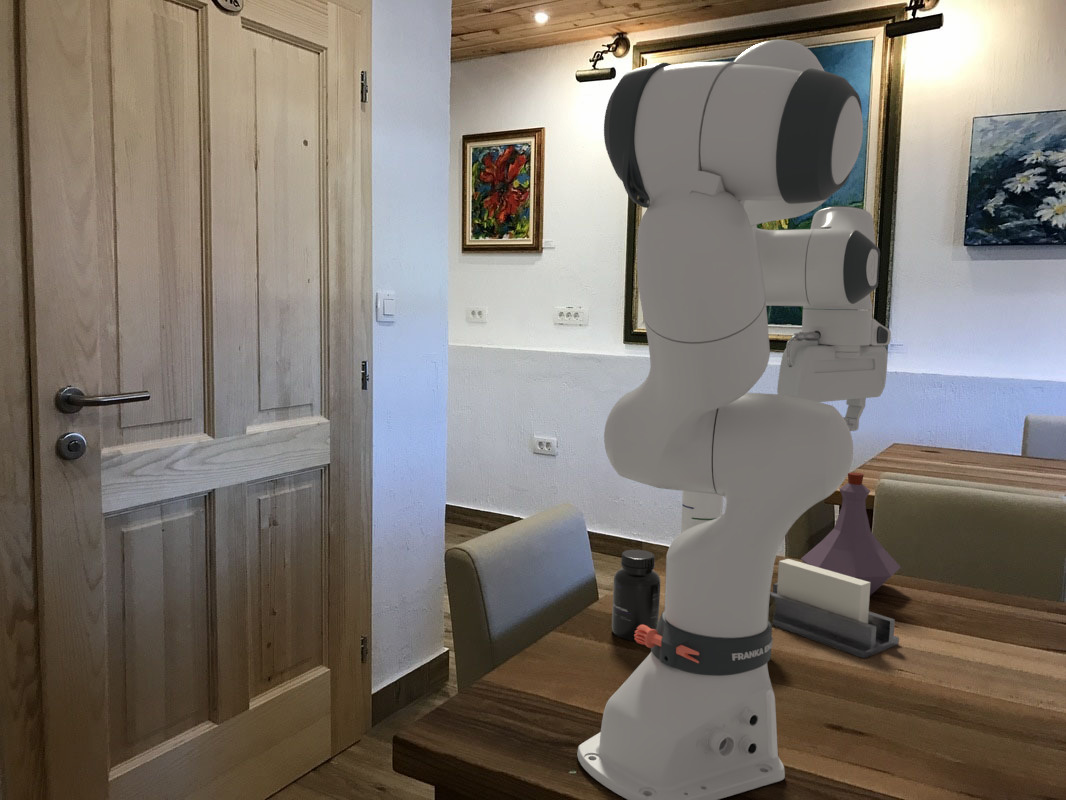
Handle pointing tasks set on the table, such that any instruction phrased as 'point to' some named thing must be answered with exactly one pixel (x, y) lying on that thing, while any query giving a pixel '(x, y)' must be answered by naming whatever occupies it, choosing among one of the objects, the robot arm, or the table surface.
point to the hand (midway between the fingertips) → (830, 433)
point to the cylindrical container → (699, 508)
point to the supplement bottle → (635, 594)
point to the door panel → (824, 589)
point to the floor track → (834, 627)
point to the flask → (853, 541)
